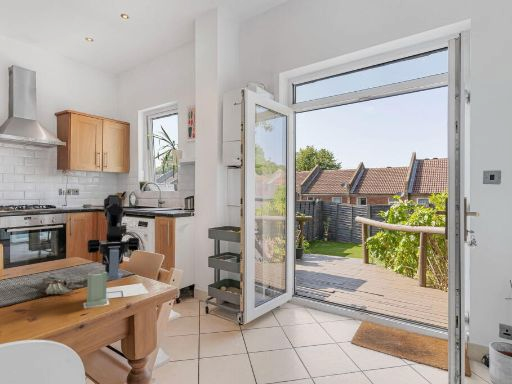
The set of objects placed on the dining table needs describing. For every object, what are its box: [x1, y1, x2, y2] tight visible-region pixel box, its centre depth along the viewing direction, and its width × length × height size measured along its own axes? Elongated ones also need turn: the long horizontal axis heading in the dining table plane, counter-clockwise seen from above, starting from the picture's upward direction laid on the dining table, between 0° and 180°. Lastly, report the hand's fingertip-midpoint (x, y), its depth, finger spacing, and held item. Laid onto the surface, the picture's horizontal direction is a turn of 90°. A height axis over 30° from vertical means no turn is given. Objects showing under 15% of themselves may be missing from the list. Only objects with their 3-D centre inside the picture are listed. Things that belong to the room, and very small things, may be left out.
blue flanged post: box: [107, 248, 123, 281], centre depth 116 cm, size 6×6×11 cm
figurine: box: [23, 274, 84, 296], centre depth 119 cm, size 20×6×17 cm
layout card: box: [82, 282, 150, 310], centre depth 117 cm, size 21×23×1 cm
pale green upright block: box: [86, 271, 108, 307], centre depth 107 cm, size 6×4×11 cm, turn 122°
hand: (113, 262), depth 115 cm, fingers closed on blue flanged post, 3 cm apart
